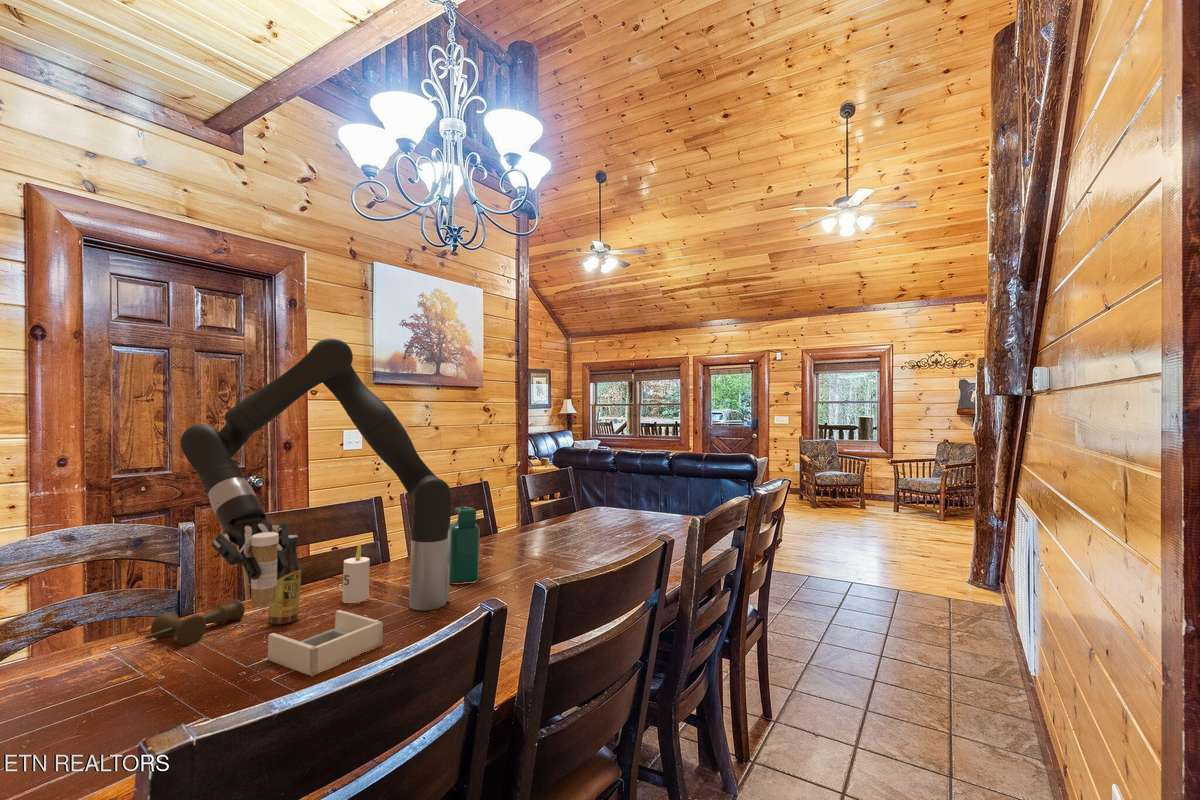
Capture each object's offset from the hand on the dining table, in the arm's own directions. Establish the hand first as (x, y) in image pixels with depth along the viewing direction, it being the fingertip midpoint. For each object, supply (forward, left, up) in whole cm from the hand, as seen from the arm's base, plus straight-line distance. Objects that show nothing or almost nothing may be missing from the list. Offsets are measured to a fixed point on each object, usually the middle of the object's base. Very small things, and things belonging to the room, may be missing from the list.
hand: (270, 573), depth 104 cm
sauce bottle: (-17, -21, -19) cm, 33 cm away
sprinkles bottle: (0, -2, -6) cm, 7 cm away
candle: (-35, -19, -19) cm, 44 cm away
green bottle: (-62, -6, -19) cm, 65 cm away
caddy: (-11, +3, -18) cm, 21 cm away
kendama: (-2, -30, -19) cm, 36 cm away
